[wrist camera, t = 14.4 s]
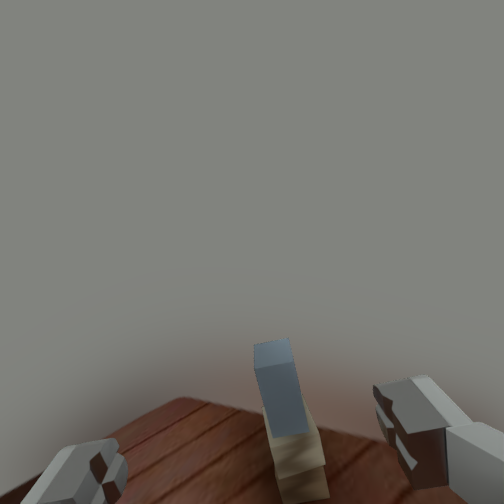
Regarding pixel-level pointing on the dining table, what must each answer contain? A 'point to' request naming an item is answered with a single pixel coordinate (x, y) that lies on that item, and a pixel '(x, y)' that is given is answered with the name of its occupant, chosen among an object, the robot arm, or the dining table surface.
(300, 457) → the tower top
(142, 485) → the dining table surface
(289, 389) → the pillar
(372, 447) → the dining table surface
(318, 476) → the tower base
